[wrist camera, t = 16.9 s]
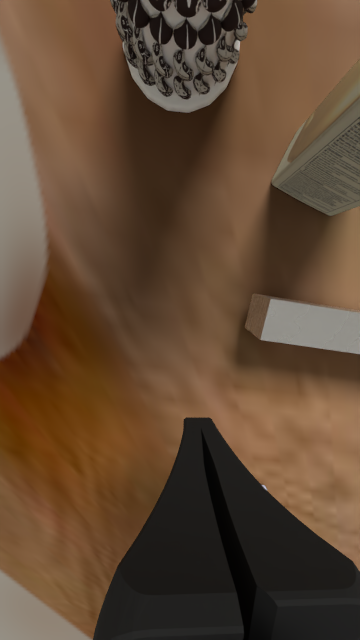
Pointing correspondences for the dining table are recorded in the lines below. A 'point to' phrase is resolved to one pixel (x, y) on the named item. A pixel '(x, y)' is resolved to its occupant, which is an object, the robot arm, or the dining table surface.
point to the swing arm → (304, 323)
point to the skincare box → (327, 152)
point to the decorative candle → (182, 47)
